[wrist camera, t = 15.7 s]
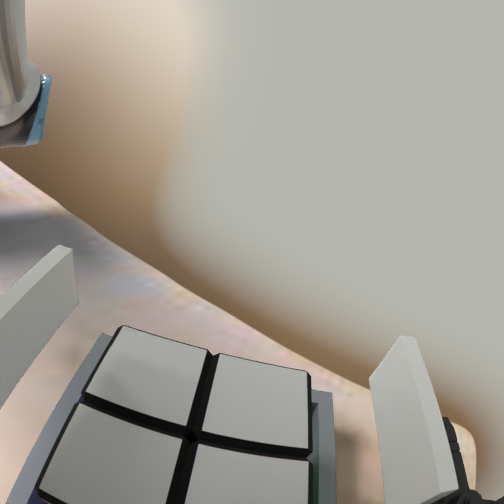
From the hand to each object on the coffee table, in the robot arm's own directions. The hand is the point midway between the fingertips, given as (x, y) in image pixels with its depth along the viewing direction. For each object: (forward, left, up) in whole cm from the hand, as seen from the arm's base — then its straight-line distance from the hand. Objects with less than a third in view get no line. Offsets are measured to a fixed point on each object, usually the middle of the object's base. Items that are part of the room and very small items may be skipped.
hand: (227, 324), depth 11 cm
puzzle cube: (+3, 0, -14) cm, 14 cm away
